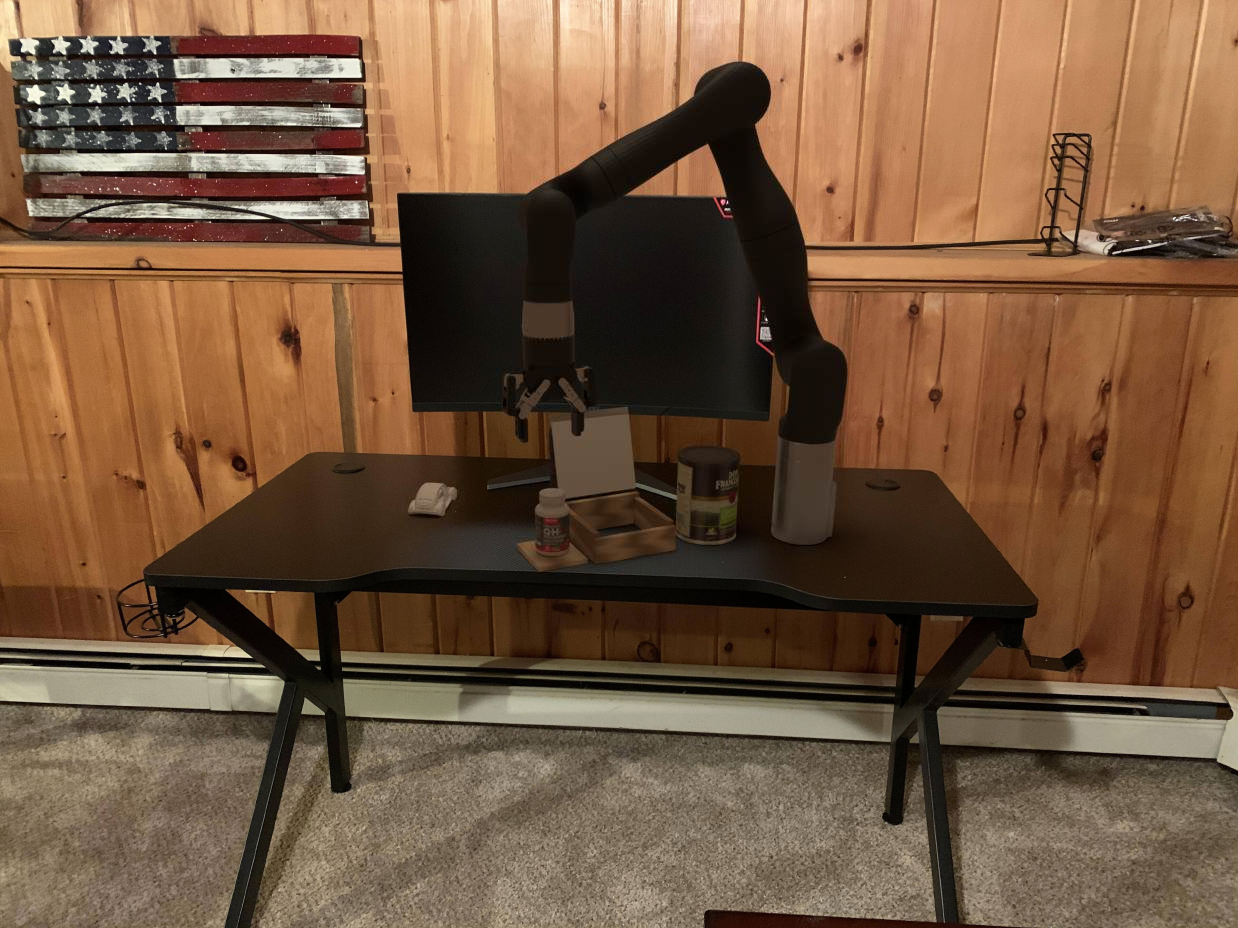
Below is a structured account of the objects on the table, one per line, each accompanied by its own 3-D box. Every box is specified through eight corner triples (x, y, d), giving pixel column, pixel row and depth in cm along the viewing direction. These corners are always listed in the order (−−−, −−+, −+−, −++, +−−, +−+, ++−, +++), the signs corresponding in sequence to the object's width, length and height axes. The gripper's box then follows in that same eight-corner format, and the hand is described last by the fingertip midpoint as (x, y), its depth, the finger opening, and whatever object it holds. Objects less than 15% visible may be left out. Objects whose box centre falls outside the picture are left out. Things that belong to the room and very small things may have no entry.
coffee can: (748, 533, 155) (753, 453, 151) (712, 550, 148) (716, 467, 143) (698, 518, 162) (702, 440, 157) (662, 534, 154) (664, 453, 150)
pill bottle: (545, 560, 141) (544, 500, 138) (529, 548, 146) (528, 489, 143) (575, 553, 144) (575, 494, 141) (559, 541, 148) (559, 484, 145)
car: (440, 520, 159) (439, 495, 158) (406, 518, 160) (404, 493, 159) (461, 497, 171) (460, 473, 169) (428, 495, 172) (427, 471, 170)
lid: (635, 488, 158) (633, 487, 159) (627, 406, 157) (625, 407, 158) (560, 499, 152) (558, 498, 153) (551, 415, 151) (549, 415, 152)
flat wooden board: (562, 540, 151) (562, 535, 151) (587, 563, 142) (587, 558, 142) (516, 548, 148) (516, 543, 147) (539, 572, 139) (539, 567, 139)
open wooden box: (636, 520, 160) (636, 491, 158) (675, 549, 148) (676, 518, 146) (561, 532, 154) (561, 502, 152) (596, 564, 142) (596, 531, 140)
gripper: (510, 339, 128) (514, 450, 133) (603, 332, 134) (603, 439, 139) (493, 330, 134) (497, 437, 139) (582, 324, 140) (583, 426, 145)
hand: (550, 438), depth 139 cm, fingers open, 8 cm apart
